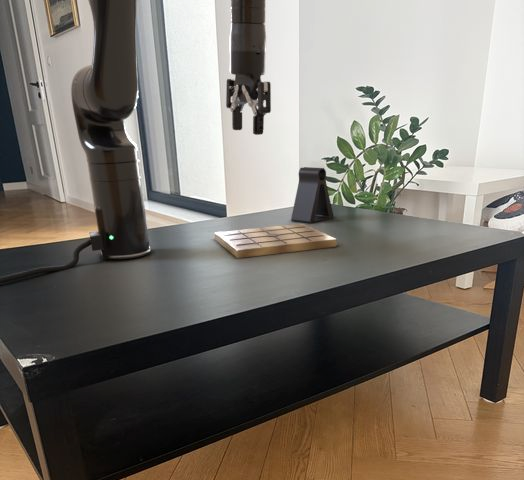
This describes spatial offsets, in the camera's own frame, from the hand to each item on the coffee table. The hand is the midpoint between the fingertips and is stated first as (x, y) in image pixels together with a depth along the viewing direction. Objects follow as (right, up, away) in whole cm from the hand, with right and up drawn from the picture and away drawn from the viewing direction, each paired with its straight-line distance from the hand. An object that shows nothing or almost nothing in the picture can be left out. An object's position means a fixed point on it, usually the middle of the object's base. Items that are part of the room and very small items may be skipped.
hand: (247, 132), depth 122 cm
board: (+5, -27, -11) cm, 29 cm away
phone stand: (+16, -17, +12) cm, 26 cm away
